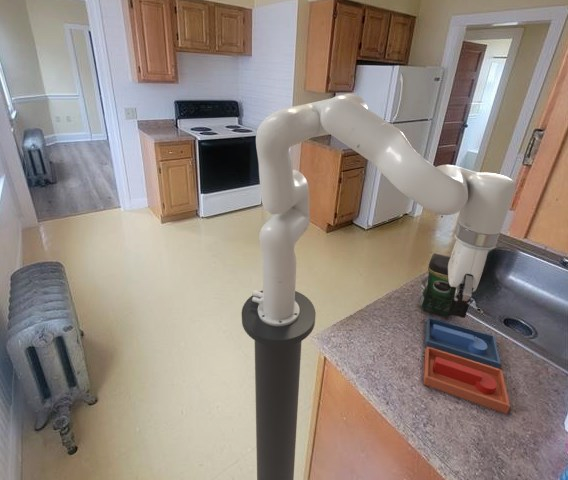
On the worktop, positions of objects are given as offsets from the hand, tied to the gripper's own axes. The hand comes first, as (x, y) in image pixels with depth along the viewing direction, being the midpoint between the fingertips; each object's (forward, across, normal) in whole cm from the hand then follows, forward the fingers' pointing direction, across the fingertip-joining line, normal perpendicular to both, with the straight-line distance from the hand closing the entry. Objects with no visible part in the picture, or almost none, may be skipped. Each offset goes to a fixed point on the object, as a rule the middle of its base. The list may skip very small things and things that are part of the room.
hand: (455, 301), depth 72 cm
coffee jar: (+22, -26, 0) cm, 34 cm away
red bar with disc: (+21, 0, +7) cm, 22 cm away
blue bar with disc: (+21, -12, +6) cm, 25 cm away
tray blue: (+22, -12, +6) cm, 26 cm away
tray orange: (+22, 0, +6) cm, 23 cm away
